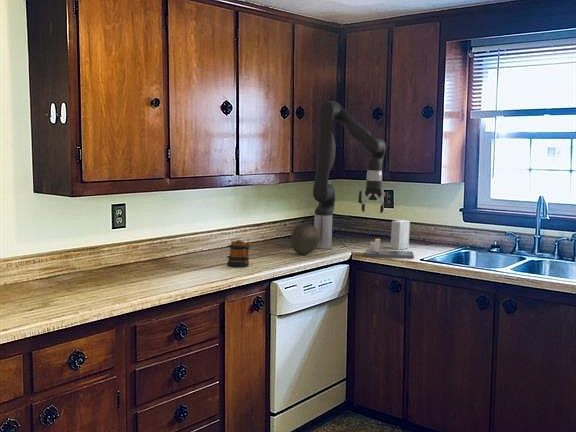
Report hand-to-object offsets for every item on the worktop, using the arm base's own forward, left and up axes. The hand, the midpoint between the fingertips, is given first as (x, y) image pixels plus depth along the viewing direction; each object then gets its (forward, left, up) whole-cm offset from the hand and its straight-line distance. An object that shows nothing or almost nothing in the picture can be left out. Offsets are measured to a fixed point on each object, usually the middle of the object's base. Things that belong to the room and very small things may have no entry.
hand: (372, 212), depth 316 cm
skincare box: (+15, +21, -21) cm, 33 cm away
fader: (+3, -2, -19) cm, 19 cm away
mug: (-57, -45, -21) cm, 76 cm away
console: (+9, -1, -21) cm, 23 cm away
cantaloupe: (-32, -10, -21) cm, 40 cm away
